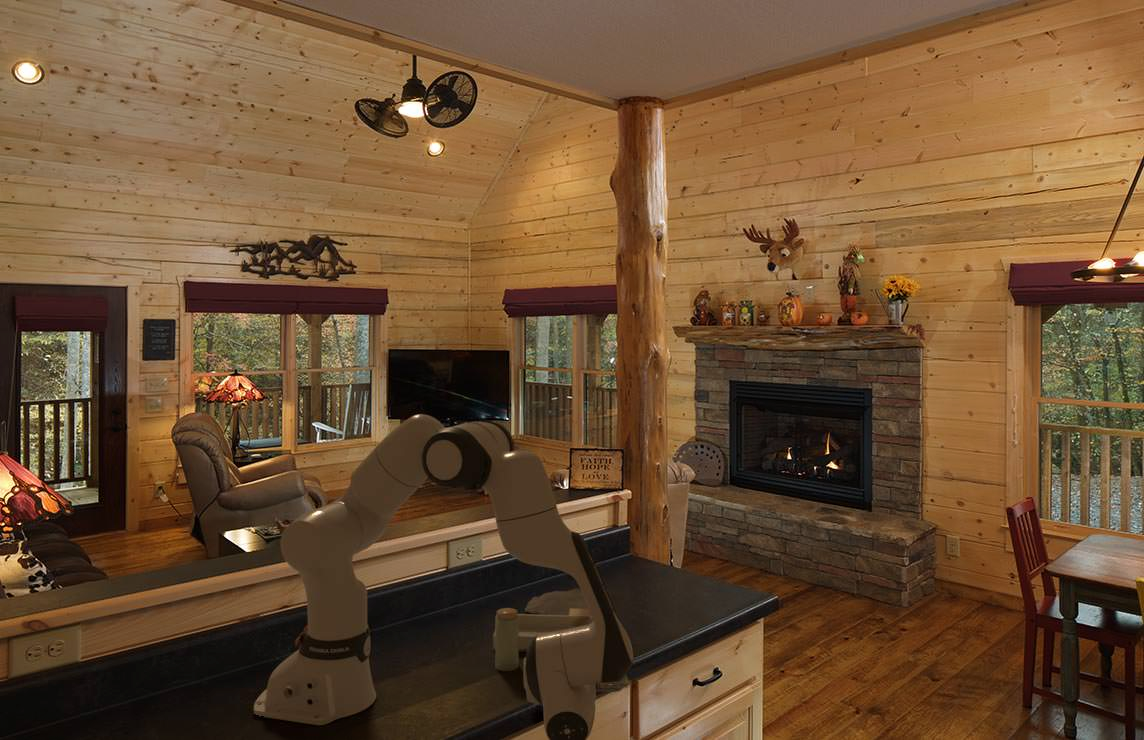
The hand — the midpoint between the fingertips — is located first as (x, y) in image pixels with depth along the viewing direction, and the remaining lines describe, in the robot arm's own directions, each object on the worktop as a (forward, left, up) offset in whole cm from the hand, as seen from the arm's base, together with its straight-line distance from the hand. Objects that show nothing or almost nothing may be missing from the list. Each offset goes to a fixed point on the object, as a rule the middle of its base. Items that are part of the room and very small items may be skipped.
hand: (576, 655), depth 153 cm
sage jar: (-15, +8, -7) cm, 19 cm away
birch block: (0, +12, -7) cm, 14 cm away
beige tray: (-8, +23, -6) cm, 25 cm away
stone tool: (-4, +41, -7) cm, 41 cm away
